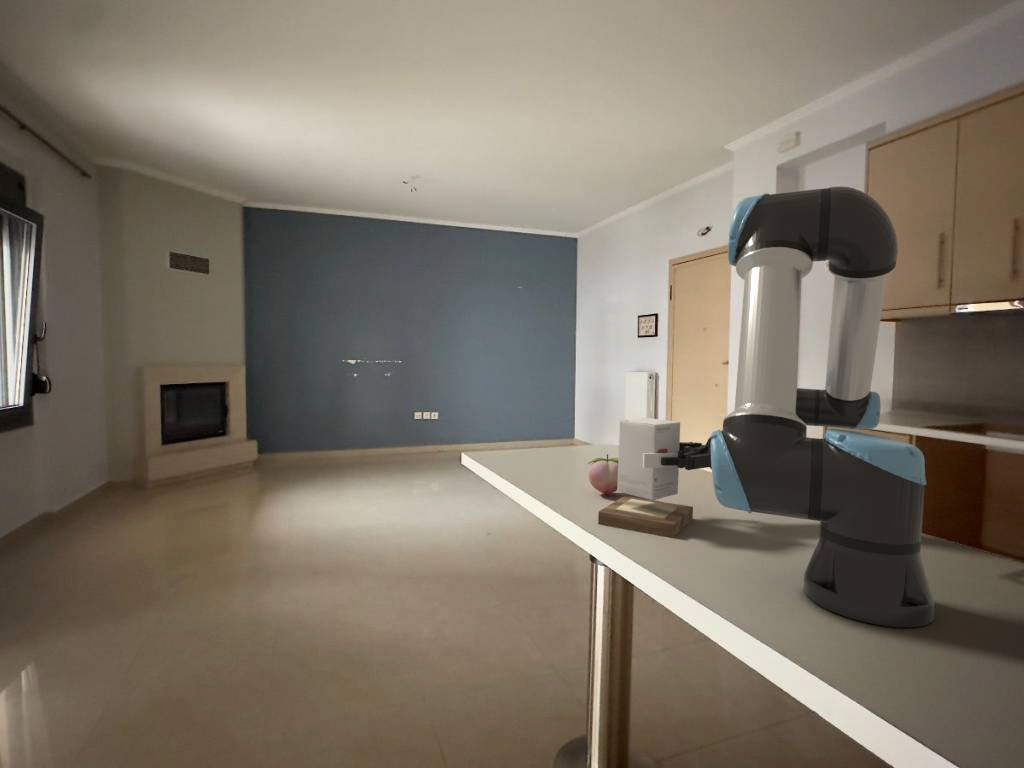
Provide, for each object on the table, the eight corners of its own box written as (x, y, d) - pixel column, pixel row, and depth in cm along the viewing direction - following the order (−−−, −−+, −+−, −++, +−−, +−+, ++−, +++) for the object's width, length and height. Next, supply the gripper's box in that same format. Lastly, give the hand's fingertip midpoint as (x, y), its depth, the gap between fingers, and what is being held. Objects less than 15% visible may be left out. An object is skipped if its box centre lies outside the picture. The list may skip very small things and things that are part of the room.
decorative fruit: (622, 491, 137) (623, 451, 137) (628, 499, 129) (629, 457, 129) (584, 490, 137) (585, 450, 137) (588, 498, 129) (589, 456, 129)
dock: (673, 537, 101) (674, 522, 101) (598, 523, 109) (598, 510, 109) (692, 518, 114) (693, 505, 114) (623, 507, 122) (624, 494, 122)
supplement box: (652, 501, 105) (654, 424, 104) (616, 492, 112) (617, 419, 111) (679, 494, 111) (681, 421, 110) (643, 485, 118) (645, 416, 117)
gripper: (764, 484, 102) (655, 487, 99) (701, 459, 126) (611, 461, 123) (766, 445, 102) (656, 446, 99) (702, 427, 126) (612, 428, 122)
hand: (631, 454), depth 111 cm, fingers closed on supplement box, 12 cm apart
